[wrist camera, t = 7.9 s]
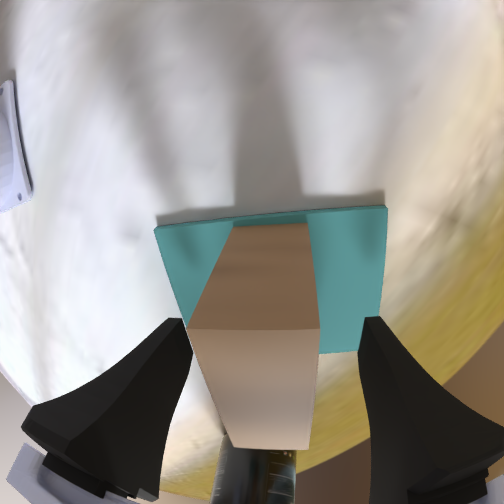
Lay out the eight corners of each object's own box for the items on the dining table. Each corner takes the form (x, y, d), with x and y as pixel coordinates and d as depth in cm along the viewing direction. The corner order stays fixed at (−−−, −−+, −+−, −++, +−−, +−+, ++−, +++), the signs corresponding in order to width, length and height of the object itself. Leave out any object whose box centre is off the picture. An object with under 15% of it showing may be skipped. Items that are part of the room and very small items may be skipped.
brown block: (308, 347, 14) (308, 449, 9) (252, 347, 15) (234, 446, 9) (307, 222, 11) (320, 329, 6) (233, 226, 11) (186, 328, 6)
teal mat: (199, 350, 16) (197, 355, 16) (157, 226, 12) (153, 230, 12) (371, 343, 14) (372, 348, 14) (384, 205, 11) (387, 208, 10)
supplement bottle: (254, 455, 24) (238, 551, 13) (208, 431, 22) (179, 542, 11) (311, 444, 21) (304, 556, 10) (268, 418, 19) (249, 557, 8)
